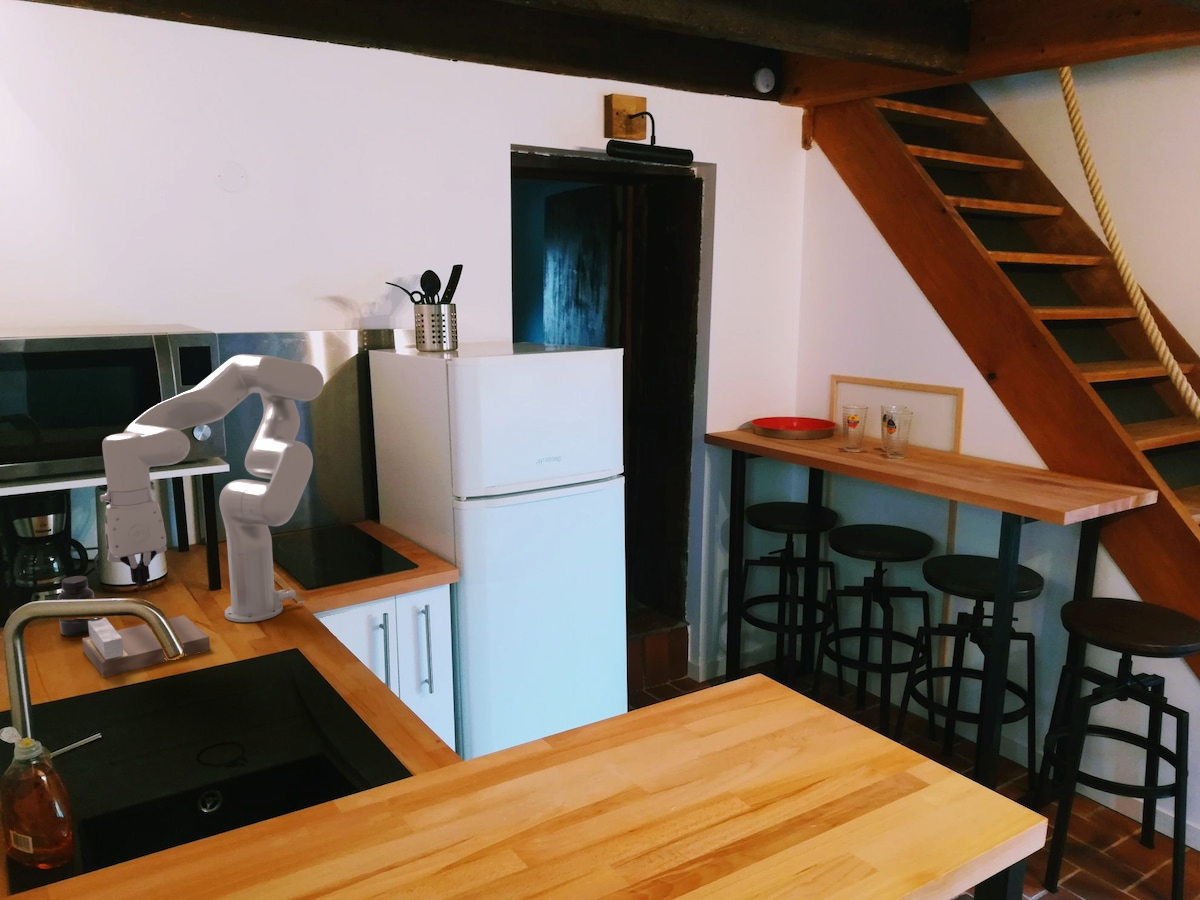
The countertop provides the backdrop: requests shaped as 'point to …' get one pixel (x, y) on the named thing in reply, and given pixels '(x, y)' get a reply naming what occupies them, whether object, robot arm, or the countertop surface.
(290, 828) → the countertop surface
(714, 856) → the countertop surface
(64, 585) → the supplement bottle
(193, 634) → the stool seat
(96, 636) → the stool leg
